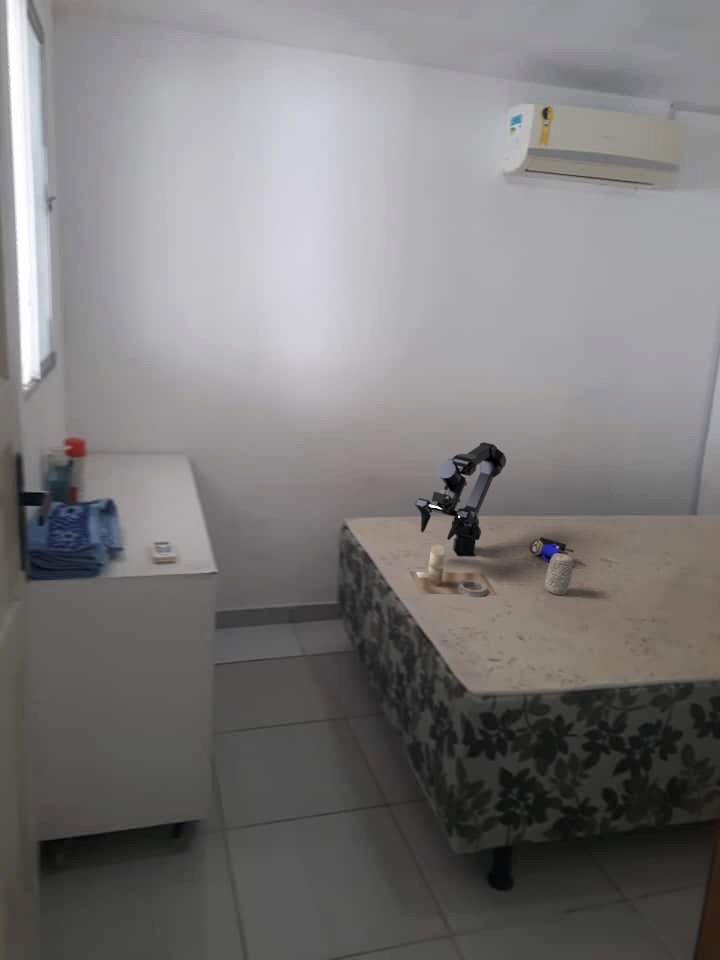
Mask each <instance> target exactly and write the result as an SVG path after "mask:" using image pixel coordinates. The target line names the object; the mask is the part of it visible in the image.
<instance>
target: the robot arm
mask: <svg viewBox="0 0 720 960" xmlns="http://www.w3.org/2000/svg"><path fill="white" fill-rule="evenodd" d="M506 464H507V457H506V456H505V454H504V452H502V451H501V450H500V449H498V448H497V445H495V444H493V443H490V442H489V443H488V442H481V443H480V444H479V445H478V446H476V447H475V448H474V449H472V450H471V451H469V452H467V453H460V454H456V455H455V456H453V457H452V458H449V459H448V460H446V461H445V462H443V463H441V464H440V465H439V466H438V468H437V474H438V476H439V477H440V480H441V481H442V482H443V484H445V485H444V488H442V489H441V490H440V492H437V491H433V494H432V498H431V501H430V500H429V499H424V498H420V497H419V498H417V499H416V501H415V504H414V505H415V507H416V508H417V510H418V511H419V512H420V515H421V516H420V517H421V518H420V519H421V520H420V521H421V522H420V525H421V526H420V532H421V533H424V532H425V530H426V528H427V526H428V523H429V521H430V519H431V516H432V515H431V513H433V512H434V513H438V514H439V513H440V514H442V515H447V516H451V517H454V518H453V519H452V521H451V528H450V529H449V533H448V534H447V538H446V539H447V540H448V541H450V540H451V539H452V538H453V537H454V536H455V537H454V538H453V545H452V550H453V551H454V553H455V555H456V556H462V557H463V556H465V557H475V556H476V553H475V549H476V548H475V547H476V541H479V540H480V538H481V535H482V530H481V528H480V527H481V526H480V518H479V512H480V510H481V507H482V505H483V502H484V501H485V498H486V496H487V494H488V491H489V489H490V487H491V484H492V481H493V479H495V477H497V476H498V475H500V474H501V473H502V471H503V469H504V468H505V466H506ZM478 465H479V468H480V473H479V474H478V477H477V480H476V482H475V484H474V486H473V489H472V491H471V493H470V496H469V498H468V500H467V502H466V505H465V506H464V507H463V508H461V507H460V508H459V509H458V510H456V509H457V506H458V503H460V502H461V496H462V493H463V491H464V489H465V487H467V485H468V484H467V483H468V482H467V480H466V477H465V476H468V477H471V476H472V475H473V474H474V473H475V472H476V470H477V466H478ZM464 475H465V476H464ZM433 502H434V504H432V503H433Z"/></svg>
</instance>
